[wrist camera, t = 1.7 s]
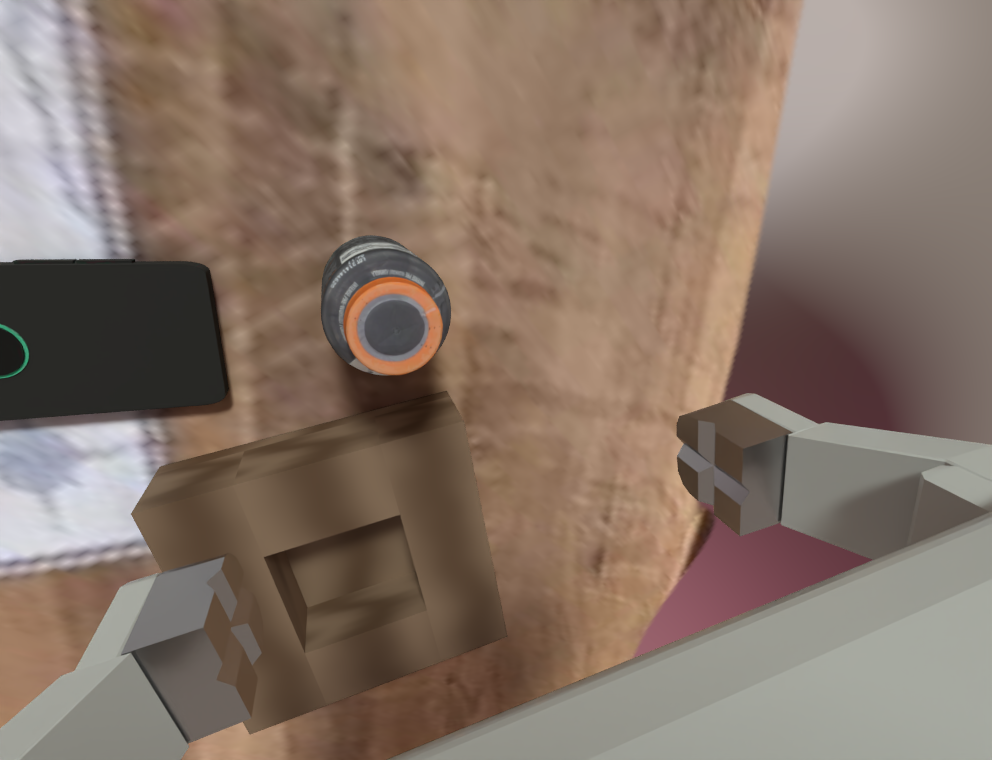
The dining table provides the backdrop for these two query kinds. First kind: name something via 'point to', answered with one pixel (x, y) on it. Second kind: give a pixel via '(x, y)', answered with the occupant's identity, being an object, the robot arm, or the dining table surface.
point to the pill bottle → (383, 306)
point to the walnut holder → (340, 548)
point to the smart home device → (107, 337)
